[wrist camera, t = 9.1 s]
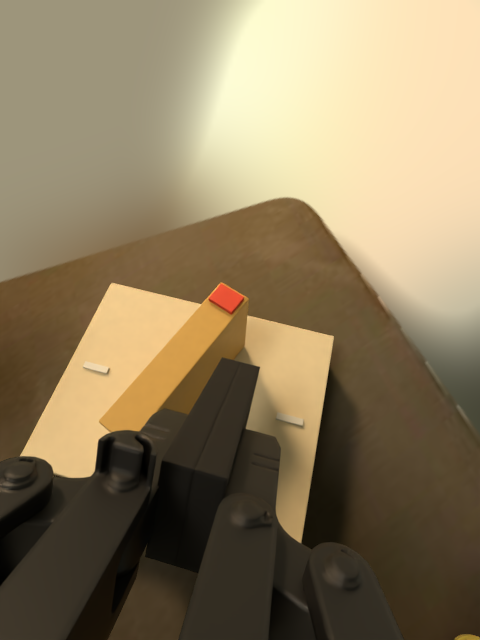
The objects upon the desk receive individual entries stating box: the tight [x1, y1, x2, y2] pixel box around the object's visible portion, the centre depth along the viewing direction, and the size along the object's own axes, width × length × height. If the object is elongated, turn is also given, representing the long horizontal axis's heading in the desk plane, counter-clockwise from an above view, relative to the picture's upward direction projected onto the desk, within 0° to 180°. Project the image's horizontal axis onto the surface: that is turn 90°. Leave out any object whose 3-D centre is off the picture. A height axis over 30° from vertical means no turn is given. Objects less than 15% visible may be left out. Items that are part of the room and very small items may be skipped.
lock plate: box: [21, 283, 334, 543], centre depth 22 cm, size 14×12×3 cm
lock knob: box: [99, 282, 249, 433], centre depth 18 cm, size 8×2×5 cm, turn 145°
